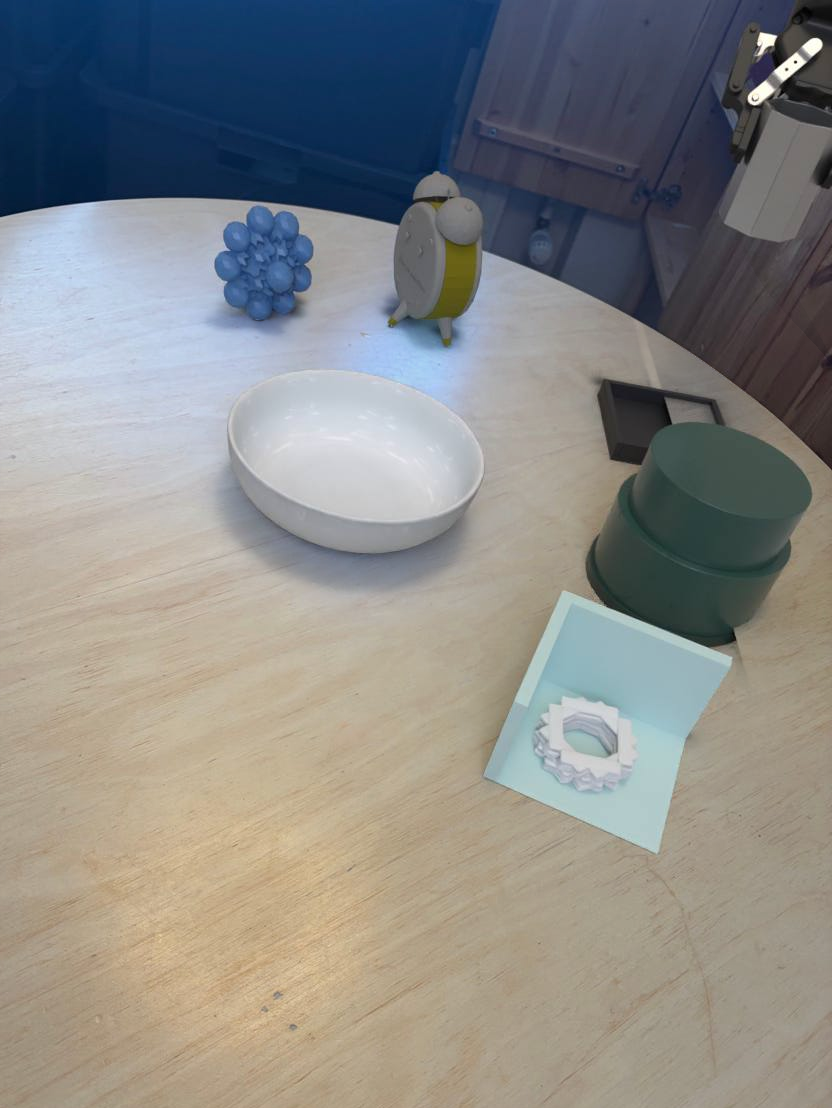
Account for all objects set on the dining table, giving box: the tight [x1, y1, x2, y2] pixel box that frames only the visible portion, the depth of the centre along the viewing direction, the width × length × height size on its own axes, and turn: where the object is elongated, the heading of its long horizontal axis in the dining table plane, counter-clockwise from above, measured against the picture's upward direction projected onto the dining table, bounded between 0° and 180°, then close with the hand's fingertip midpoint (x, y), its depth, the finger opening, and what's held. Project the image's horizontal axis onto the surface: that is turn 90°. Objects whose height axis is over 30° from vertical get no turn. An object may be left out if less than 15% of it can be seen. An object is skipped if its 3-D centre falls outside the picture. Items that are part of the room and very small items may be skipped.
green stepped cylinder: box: [585, 421, 813, 648], centre depth 78 cm, size 15×15×12 cm
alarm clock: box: [387, 170, 484, 347], centre depth 103 cm, size 12×7×15 cm, turn 19°
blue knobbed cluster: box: [213, 204, 314, 321], centre depth 99 cm, size 12×7×12 cm, turn 124°
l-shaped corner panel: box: [482, 589, 733, 855], centre depth 65 cm, size 12×12×8 cm
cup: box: [718, 97, 832, 243], centre depth 82 cm, size 6×6×9 cm
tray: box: [597, 378, 726, 466], centre depth 99 cm, size 12×12×2 cm
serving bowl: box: [226, 368, 486, 554], centre depth 81 cm, size 21×21×7 cm
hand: (783, 170), depth 80 cm, fingers closed on cup, 7 cm apart
